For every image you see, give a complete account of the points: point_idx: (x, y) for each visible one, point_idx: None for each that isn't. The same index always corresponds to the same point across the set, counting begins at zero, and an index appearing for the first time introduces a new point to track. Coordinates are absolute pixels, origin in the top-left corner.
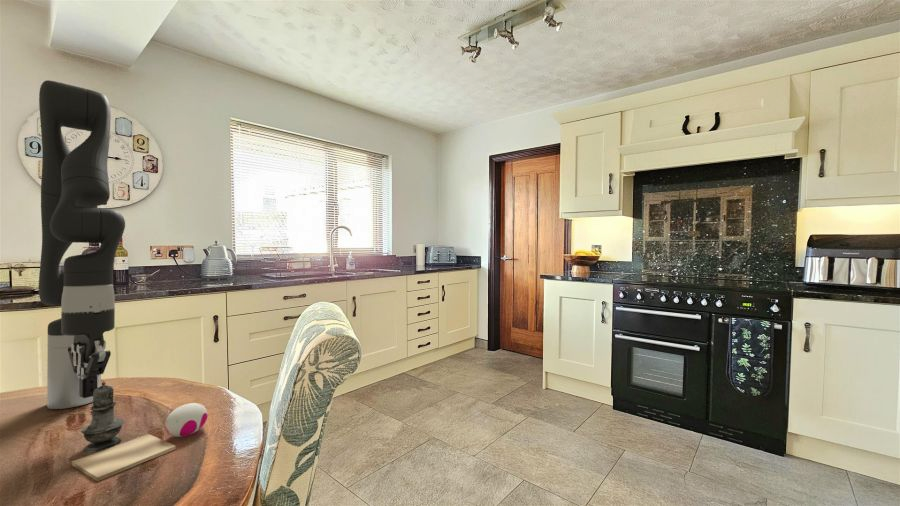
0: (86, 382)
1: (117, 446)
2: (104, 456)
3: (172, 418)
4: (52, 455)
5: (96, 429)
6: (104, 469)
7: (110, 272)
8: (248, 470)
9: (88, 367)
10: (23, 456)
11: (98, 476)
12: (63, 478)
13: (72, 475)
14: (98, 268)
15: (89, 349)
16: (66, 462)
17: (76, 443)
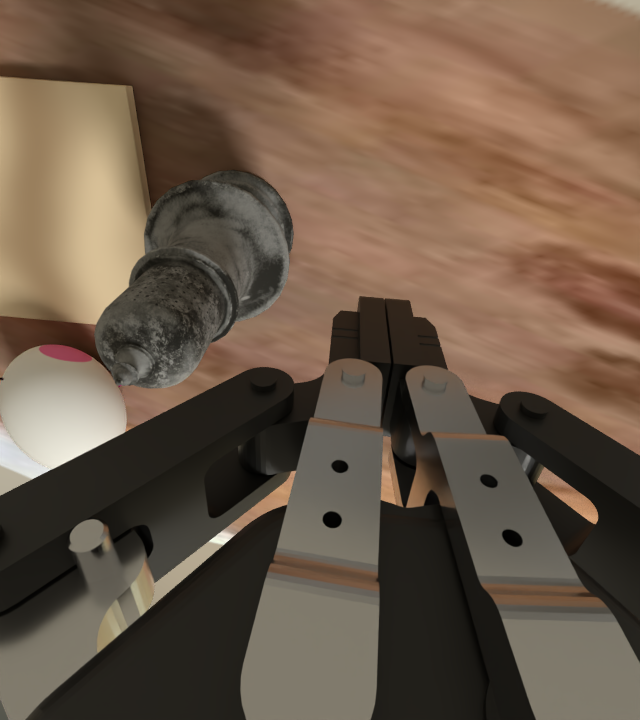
0: (332, 357)
1: (136, 235)
2: (73, 171)
3: (13, 381)
4: (316, 89)
5: (167, 218)
6: None
7: None
8: None
9: (184, 429)
10: (436, 14)
11: None
12: (17, 10)
13: (22, 43)
14: None
15: (100, 657)
16: (181, 87)
17: (356, 193)
